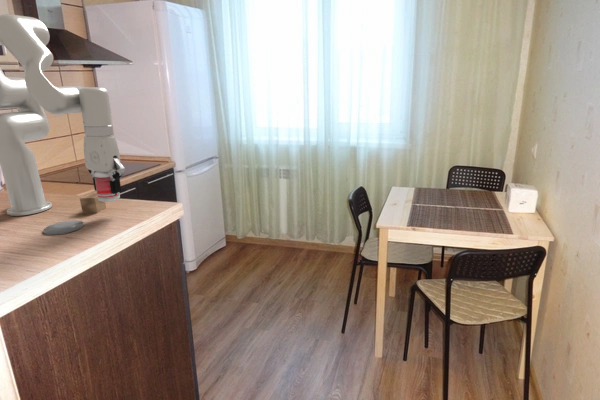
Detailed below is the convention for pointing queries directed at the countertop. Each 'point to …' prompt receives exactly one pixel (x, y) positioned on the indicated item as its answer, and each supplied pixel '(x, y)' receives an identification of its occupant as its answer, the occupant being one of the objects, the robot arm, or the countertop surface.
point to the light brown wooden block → (91, 204)
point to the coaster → (63, 227)
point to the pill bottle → (104, 187)
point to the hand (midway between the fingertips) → (108, 190)
